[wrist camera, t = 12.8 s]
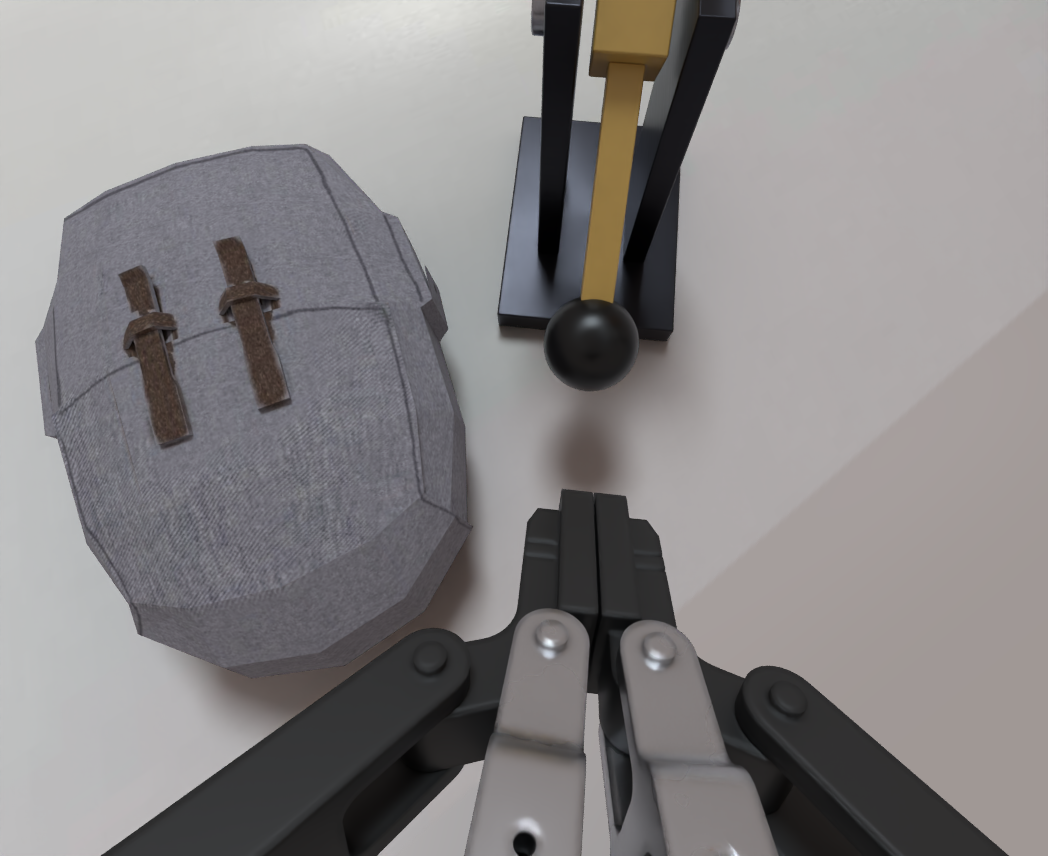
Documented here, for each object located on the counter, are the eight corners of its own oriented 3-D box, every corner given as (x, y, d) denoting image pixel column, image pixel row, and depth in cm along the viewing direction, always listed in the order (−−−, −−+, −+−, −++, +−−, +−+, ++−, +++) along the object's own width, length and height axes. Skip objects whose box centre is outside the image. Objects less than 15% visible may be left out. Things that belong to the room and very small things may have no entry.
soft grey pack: (107, 295, 26) (193, 720, 22) (-80, 175, 18) (-7, 812, 14) (403, 200, 27) (545, 582, 23) (351, 47, 19) (554, 593, 15)
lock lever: (625, 383, 22) (637, 406, 18) (540, 374, 22) (537, 396, 18) (685, -12, 17) (713, -71, 14) (579, -20, 18) (584, -80, 14)
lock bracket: (667, 341, 25) (798, 129, 13) (498, 325, 26) (470, 103, 13) (676, 146, 28) (792, -184, 16) (523, 134, 28) (519, -201, 16)
